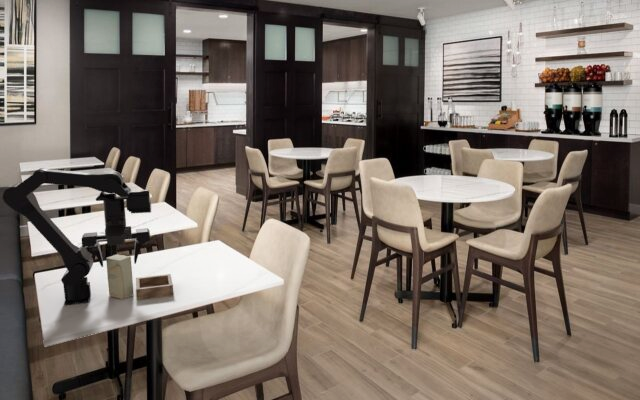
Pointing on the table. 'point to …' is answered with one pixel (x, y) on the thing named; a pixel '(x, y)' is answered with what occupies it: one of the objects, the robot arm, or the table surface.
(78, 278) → the robot arm
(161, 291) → the box
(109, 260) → the skincare box
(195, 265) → the table surface
